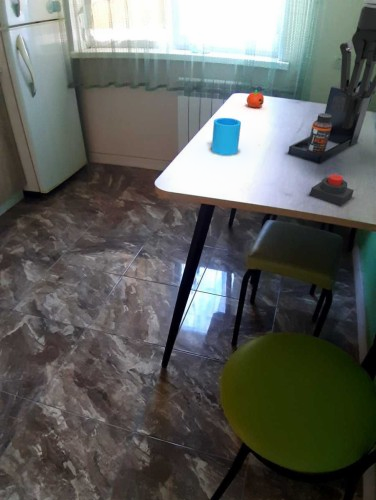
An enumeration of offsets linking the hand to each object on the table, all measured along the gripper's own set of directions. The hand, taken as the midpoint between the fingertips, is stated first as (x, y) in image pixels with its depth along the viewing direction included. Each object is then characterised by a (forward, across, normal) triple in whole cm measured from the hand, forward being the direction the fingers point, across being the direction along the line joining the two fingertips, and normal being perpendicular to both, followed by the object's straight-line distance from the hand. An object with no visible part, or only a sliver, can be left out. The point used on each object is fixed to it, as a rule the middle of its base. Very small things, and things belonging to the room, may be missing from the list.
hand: (347, 127), depth 102 cm
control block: (+17, +2, -3) cm, 17 cm away
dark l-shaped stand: (+17, -17, +32) cm, 39 cm away
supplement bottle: (+17, -17, +26) cm, 35 cm away
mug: (+17, -40, +7) cm, 44 cm away
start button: (+13, +2, -3) cm, 13 cm away
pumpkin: (+17, -60, +57) cm, 84 cm away
